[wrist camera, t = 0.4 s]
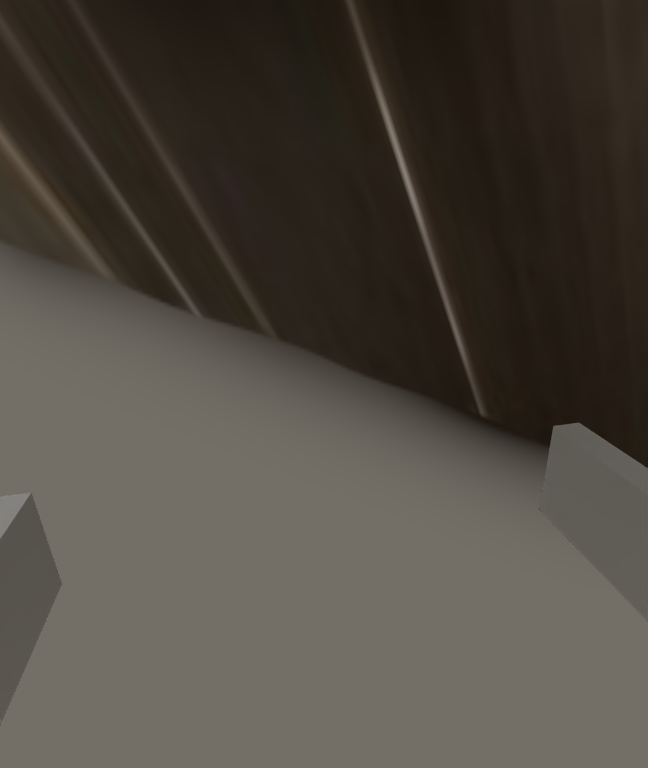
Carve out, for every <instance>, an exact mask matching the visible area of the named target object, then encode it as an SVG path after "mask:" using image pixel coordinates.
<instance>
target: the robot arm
mask: <svg viewBox="0 0 648 768" xmlns="http://www.w3.org/2000/svg"><path fill="white" fill-rule="evenodd" d="M539 510H540V511H541V512H542V513H543V514H544V515H545V516H546V517H547V518H548V519H549V520H550V521H551V522H552V523H553V524H554V525H555V526H556V527H557V528H558V529H559V530H560V531H561V532H562V533H563V534H564V535H565V536H566V538H567V539H568V540H569V541H570V542H571V543H572V544H573V545H574V546H575V547H576V548H577V549H578V550H579V551H580V552H581V553H582V554H583V555H584V556H585V557H586V558H587V559H588V560H589V561H590V562H591V563H592V564H593V566H595V568H596V569H597V570H598V571H599V572H601V574H602V575H603V576H604V577H605V578H606V579H607V580H608V581H609V582H610V583H611V584H612V585H613V586H614V587H615V588H616V589H617V590H618V591H619V592H620V593H621V594H622V595H623V597H624V598H625V599H626V600H627V601H628V602H629V603H630V604H631V605H632V606H633V607H634V608H635V609H636V610H637V611H638V612H639V613H640V614H641V615H642V616H643V617H644V618H645V619H646V620H647V621H648V468H646V467H645V466H643V465H642V464H640V463H639V462H637V461H636V460H634V459H633V458H631V457H630V456H628V455H627V454H625V453H624V452H622V451H621V450H619V449H618V448H616V447H615V446H613V445H612V444H610V443H609V442H607V441H606V440H604V439H603V438H601V437H600V436H598V435H597V434H595V433H594V432H592V431H591V430H589V429H588V428H586V427H585V426H583V425H582V424H580V423H574V424H566V425H558V426H553V432H552V438H551V444H550V449H549V455H548V462H547V467H546V473H545V478H544V484H543V490H542V496H541V502H540V508H539ZM61 585H62V583H61V580H60V577H59V574H58V571H57V568H56V565H55V562H54V559H53V556H52V553H51V550H50V547H49V544H48V541H47V538H46V535H45V532H44V529H43V526H42V523H41V520H40V517H39V514H38V511H37V508H36V505H35V502H34V499H33V496H32V493H25V494H17V495H9V496H1V497H0V725H1V722H2V720H3V718H4V716H5V713H6V711H7V709H8V706H9V704H10V702H11V700H12V697H13V695H14V693H15V690H16V688H17V686H18V683H19V681H20V679H21V677H22V674H23V672H24V670H25V667H26V665H27V663H28V661H29V658H30V656H31V654H32V651H33V649H34V647H35V644H36V642H37V640H38V638H39V635H40V633H41V631H42V628H43V626H44V624H45V622H46V619H47V617H48V614H49V612H50V610H51V608H52V606H53V603H54V601H55V599H56V596H57V594H58V592H59V589H60V587H61Z"/></svg>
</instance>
